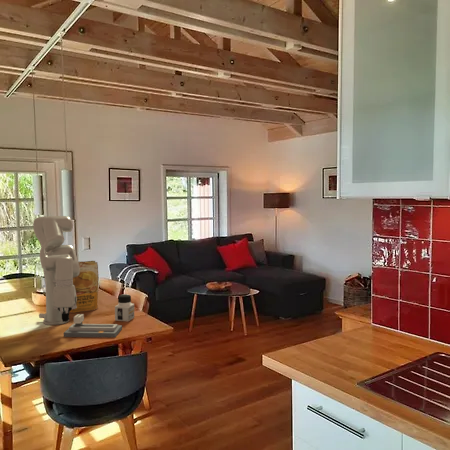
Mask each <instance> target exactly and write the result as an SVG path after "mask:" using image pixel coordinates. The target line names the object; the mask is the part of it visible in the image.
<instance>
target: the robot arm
mask: <svg viewBox="0 0 450 450" xmlns="http://www.w3.org/2000/svg"><path fill="white" fill-rule="evenodd" d="M73 226H74V223H73V220H72V218H71V217H70V216H69V215H68V216H66V215H58V216H57V215H51V216H47V215H45V216H39V217H35V219H33V225H32V227H33V232H34V235H35V237H36V239H37V240H38V242H39V243H40V250H39V261H40V265H41V268H42V270H43V271H42V272H43V276H44V282H45V309H46V310H45V313H39V314H38V318H39V319H43V321H42V322H43V325H47V326H58V325H63V324H66V323H69V322H70V313H69V312H70V311H71V310H72V309H76V308H77V306H76V304H77V297H76V290H75V286H74V285H73V278H75V277H77V276H78V275H79V273H80V267H79V263H78V262H79V260H78V256H77V252H76V249H75V247H74V246H73V245H71V244H64V242H65V236H64V233H70V232H72V231H73Z"/></svg>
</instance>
